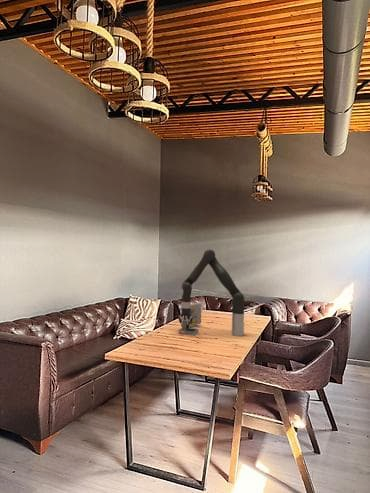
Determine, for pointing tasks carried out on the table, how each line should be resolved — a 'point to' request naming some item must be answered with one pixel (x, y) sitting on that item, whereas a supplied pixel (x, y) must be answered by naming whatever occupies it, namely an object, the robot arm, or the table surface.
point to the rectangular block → (184, 326)
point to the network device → (195, 315)
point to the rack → (189, 331)
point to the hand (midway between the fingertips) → (185, 328)
